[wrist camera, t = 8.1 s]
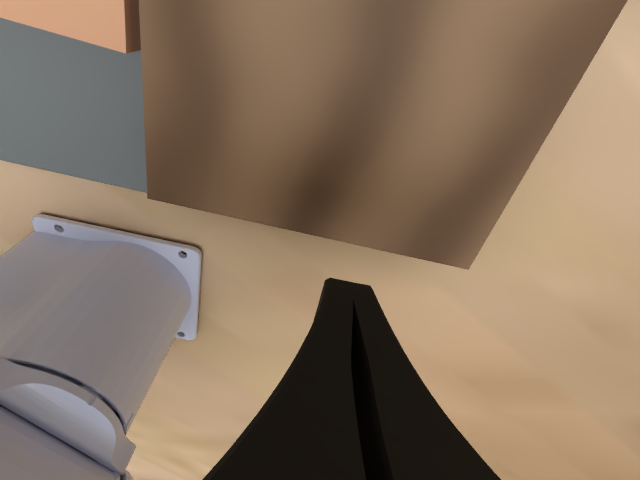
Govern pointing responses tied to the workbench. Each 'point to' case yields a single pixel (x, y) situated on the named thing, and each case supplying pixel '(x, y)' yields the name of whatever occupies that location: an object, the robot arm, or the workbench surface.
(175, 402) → the workbench surface
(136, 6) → the tile
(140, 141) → the mat
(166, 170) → the deck
